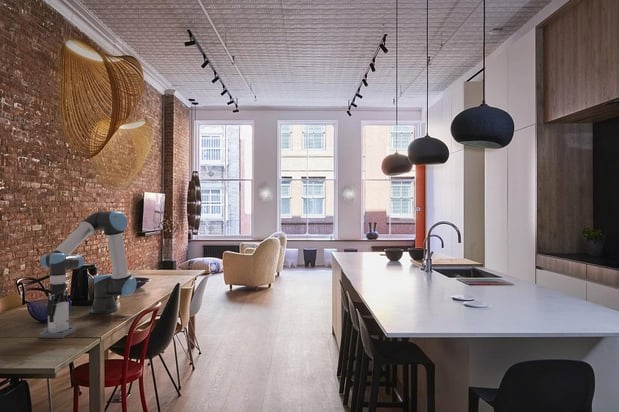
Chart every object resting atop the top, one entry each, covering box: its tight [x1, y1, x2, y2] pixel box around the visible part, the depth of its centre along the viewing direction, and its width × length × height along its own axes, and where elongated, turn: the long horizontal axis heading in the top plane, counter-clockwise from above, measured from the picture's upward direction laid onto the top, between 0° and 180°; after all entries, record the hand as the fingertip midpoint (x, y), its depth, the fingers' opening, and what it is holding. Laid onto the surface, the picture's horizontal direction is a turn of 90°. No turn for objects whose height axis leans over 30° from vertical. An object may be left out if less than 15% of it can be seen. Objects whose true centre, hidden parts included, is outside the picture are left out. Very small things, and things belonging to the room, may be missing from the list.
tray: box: [39, 326, 77, 339], centre depth 248 cm, size 12×12×2 cm
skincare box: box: [47, 301, 70, 333], centre depth 248 cm, size 8×6×15 cm
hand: (58, 325), depth 248 cm, fingers closed on skincare box, 10 cm apart
